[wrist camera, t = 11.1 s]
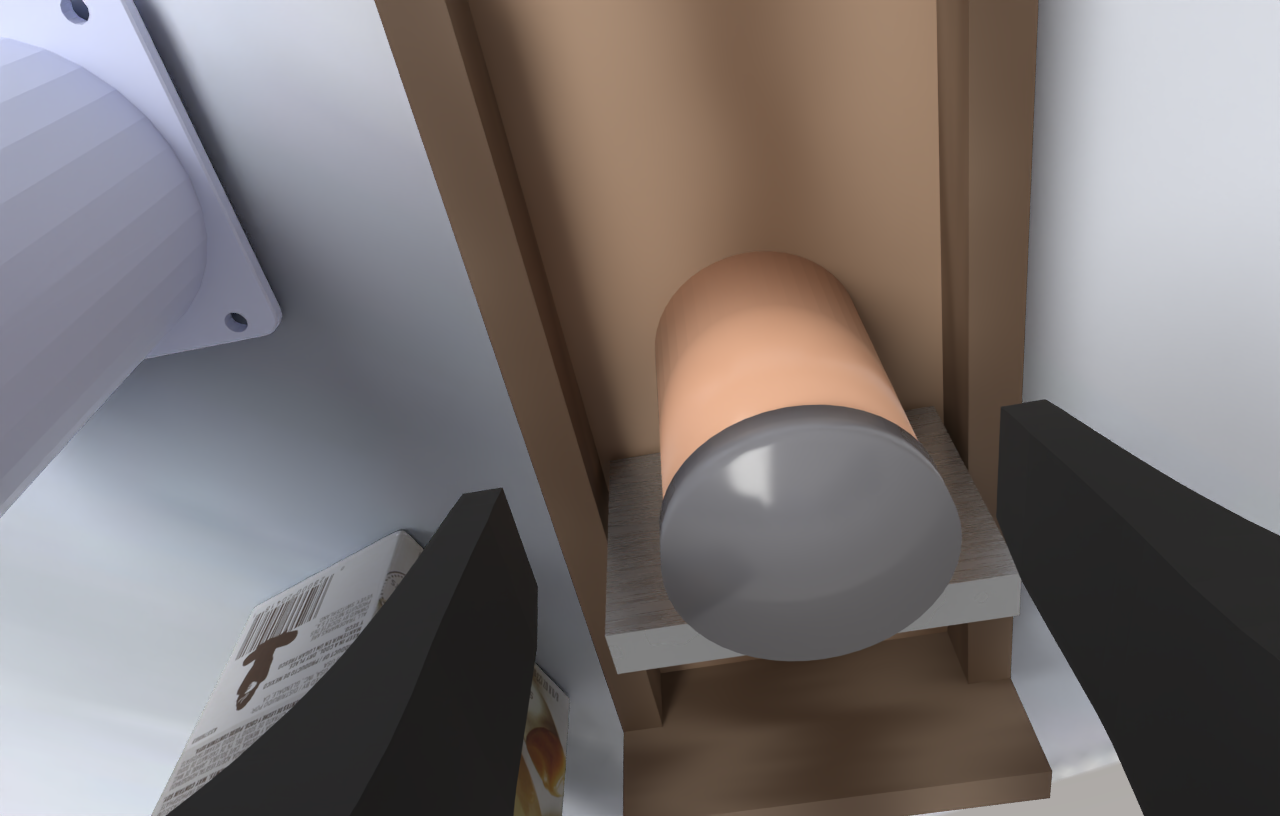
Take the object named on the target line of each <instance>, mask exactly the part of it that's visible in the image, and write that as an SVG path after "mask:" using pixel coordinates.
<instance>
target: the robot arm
mask: <svg viewBox="0 0 1280 816" xmlns="http://www.w3.org/2000/svg"><path fill="white" fill-rule="evenodd" d="M82 1H83V2H84V3H85V4H86V6H87V7H88V11H89V14H90V15H89V18H88V20H84V19H82V18H80V17H79V16H78V15H77V14H76V13H75V11H74V10H73V8H72V4H71V0H0V518H1V516H2V515H3V514H4V513H5V512H6V511H7V510H8V509H9V508H10V507H11V505H12V504H13V503H14V502H15V501H16V500H17V499H18V498H19V497H20V495H21V494H22V493H23V492H24V491H25V490H26V489H27V488H28V487H29V485H30V484H31V483H32V482H33V481H34V480H35V479H36V478H37V477H38V476H39V474H40V473H41V472H42V471H43V470H44V469H45V468H46V467H47V466H48V464H49V463H50V462H51V461H52V460H53V459H54V458H55V457H56V456H57V454H58V453H59V452H60V451H61V450H62V449H63V448H64V447H65V446H66V445H67V443H68V442H69V441H70V440H71V439H72V438H73V437H74V436H75V435H76V433H77V432H78V431H79V430H80V429H81V428H82V427H83V426H84V425H85V423H86V422H87V421H88V420H89V419H90V418H91V417H92V416H93V415H94V414H95V412H96V411H97V410H98V409H99V408H100V407H101V406H102V405H103V404H104V402H105V401H106V400H107V399H108V398H109V397H110V396H111V395H112V394H113V392H114V391H115V390H116V389H117V388H118V387H119V386H120V385H121V384H122V383H123V381H124V380H125V379H126V378H127V377H128V376H129V375H130V374H131V373H132V371H133V370H134V369H135V368H136V367H137V366H138V365H139V364H140V363H141V361H142V360H143V359H148V358H154V357H159V356H164V355H169V354H174V353H179V352H185V351H190V350H195V349H200V348H205V347H210V346H216V345H221V344H226V343H231V342H236V341H241V340H247V339H252V338H257V337H262V336H266V335H269V334H271V333H273V332H274V330H275V329H276V328H277V327H278V325H279V324H280V322H281V319H282V312H281V309H280V306H279V304H278V302H277V300H276V298H275V296H274V294H273V292H272V290H271V287H270V285H269V283H268V281H267V279H266V277H265V275H264V273H263V271H262V269H261V267H260V264H259V262H258V260H257V258H256V256H255V254H254V252H253V250H252V248H251V246H250V244H249V242H248V239H247V237H246V235H245V233H244V231H243V229H242V227H241V225H240V223H239V221H238V219H237V217H236V214H235V212H234V210H233V208H232V206H231V204H230V202H229V200H228V198H227V196H226V194H225V191H224V189H223V187H222V185H221V183H220V181H219V179H218V177H217V175H216V173H215V171H214V169H213V166H212V164H211V162H210V160H209V158H208V156H207V154H206V152H205V150H204V148H203V146H202V144H201V141H200V139H199V137H198V135H197V133H196V131H195V129H194V127H193V125H192V123H191V121H190V119H189V116H188V114H187V112H186V110H185V108H184V106H183V104H182V102H181V100H180V98H179V96H178V93H177V91H176V89H175V87H174V85H173V83H172V81H171V79H170V77H169V75H168V73H167V71H166V68H165V66H164V64H163V62H162V60H161V58H160V56H159V54H158V52H157V50H156V48H155V46H154V43H153V41H152V39H151V37H150V35H149V33H148V31H147V29H146V27H145V25H144V23H143V20H142V18H141V16H140V14H139V12H138V10H137V8H136V6H135V4H134V2H133V0H82ZM231 313H238V314H240V315H242V316H243V317H244V318H245V319H246V320H247V324H240V323H238V322H236V321H235V320H234V319H233V318H232V316H231ZM996 518H997V521H998V523H999V526H1000V528H1001V531H1002V534H1003V536H1004V539H1005V541H1006V544H1007V547H1008V549H1009V552H1010V554H1011V557H1012V559H1013V561H1014V564H1015V566H1016V569H1017V571H1018V573H1019V576H1020V578H1021V580H1022V582H1023V584H1024V586H1025V587H1026V589H1027V591H1028V593H1029V595H1030V596H1031V598H1032V600H1033V602H1034V604H1035V605H1036V607H1037V609H1038V611H1039V612H1040V614H1041V616H1042V618H1043V620H1044V621H1045V623H1046V625H1047V627H1048V628H1049V630H1050V632H1051V634H1052V635H1053V637H1054V639H1055V641H1056V642H1057V644H1058V646H1059V648H1060V649H1061V651H1062V653H1063V655H1064V656H1065V658H1066V660H1067V662H1068V663H1069V665H1070V667H1071V669H1072V670H1073V672H1074V674H1075V676H1076V677H1077V679H1078V681H1079V683H1080V684H1081V686H1082V688H1083V690H1084V691H1085V693H1086V695H1087V697H1088V699H1089V700H1090V702H1091V704H1092V706H1093V707H1094V709H1095V711H1096V713H1097V715H1098V716H1099V718H1100V720H1101V722H1102V724H1103V726H1104V728H1105V730H1106V732H1107V734H1108V736H1109V738H1110V740H1111V742H1112V744H1113V746H1114V748H1115V751H1116V753H1117V755H1118V758H1119V760H1120V762H1121V764H1122V767H1123V769H1124V771H1125V773H1126V775H1127V778H1128V780H1129V782H1130V785H1131V787H1132V789H1133V791H1134V794H1135V796H1136V798H1137V801H1138V803H1139V805H1140V807H1141V810H1142V812H1143V815H1144V816H1280V536H1279V535H1277V534H1275V533H1273V532H1271V531H1269V530H1267V529H1265V528H1263V527H1260V526H1258V525H1256V524H1254V523H1252V522H1250V521H1248V520H1246V519H1244V518H1243V517H1241V516H1239V515H1237V514H1235V513H1233V512H1231V511H1229V510H1228V509H1226V508H1224V507H1222V506H1220V505H1218V504H1216V503H1215V502H1213V501H1211V500H1209V499H1207V498H1205V497H1203V496H1201V495H1200V494H1198V493H1196V492H1194V491H1193V490H1191V489H1189V488H1187V487H1186V486H1184V485H1182V484H1180V483H1179V482H1177V481H1175V480H1173V479H1172V478H1170V477H1168V476H1167V475H1165V474H1163V473H1162V472H1160V471H1158V470H1157V469H1155V468H1153V467H1152V466H1150V465H1148V464H1147V463H1145V462H1143V461H1142V460H1140V459H1139V458H1137V457H1135V456H1134V455H1132V454H1131V453H1129V452H1127V451H1126V450H1124V449H1123V448H1121V447H1119V446H1118V445H1116V444H1115V443H1113V442H1112V441H1110V440H1108V439H1107V438H1105V437H1104V436H1102V435H1101V434H1099V433H1098V432H1096V431H1094V430H1093V429H1091V428H1090V427H1088V426H1087V425H1085V424H1084V423H1082V422H1081V421H1079V420H1077V419H1076V418H1074V417H1073V416H1071V415H1070V414H1068V413H1067V412H1065V411H1063V410H1062V409H1060V408H1059V407H1057V406H1055V405H1054V404H1052V403H1050V402H1049V401H1047V400H1039V401H1033V402H1027V403H1021V404H1015V405H1009V406H1002V407H1001V411H1000V435H999V459H998V484H997V508H996ZM537 599H538V586H537V583H536V581H535V578H534V575H533V572H532V569H531V567H530V564H529V561H528V558H527V555H526V552H525V550H524V547H523V544H522V541H521V538H520V536H519V533H518V530H517V527H516V524H515V521H514V519H513V516H512V513H511V510H510V507H509V505H508V502H507V499H506V496H505V493H504V490H503V488H497V489H491V490H484V491H478V492H472V493H466V494H463V495H462V496H461V497H460V499H459V500H458V501H457V503H456V504H455V506H454V507H453V508H452V510H451V511H450V512H449V514H448V515H447V517H446V518H445V520H444V521H443V522H442V524H441V525H440V527H439V528H438V530H437V531H436V533H435V534H434V535H433V537H432V538H431V540H430V541H429V543H428V544H427V546H426V547H425V548H424V550H423V551H422V553H421V554H420V556H419V557H418V558H417V560H416V561H415V563H414V564H413V565H412V567H411V568H410V569H409V571H408V572H407V574H406V575H405V576H404V578H403V579H402V580H401V582H400V583H399V585H398V586H397V587H396V589H395V590H394V591H393V593H392V594H391V595H390V597H389V598H388V599H387V601H386V602H385V603H384V605H383V606H382V607H381V608H380V610H379V611H378V612H377V613H376V615H375V616H374V617H373V618H372V619H371V621H370V622H369V623H368V624H367V626H366V627H365V628H364V629H363V631H362V632H361V633H360V634H359V636H358V637H357V638H356V639H355V641H354V642H353V643H352V644H351V645H350V647H349V648H348V649H347V650H346V651H345V652H344V653H343V655H342V656H341V657H340V658H339V659H338V660H337V661H336V662H335V664H334V665H333V666H332V667H331V668H330V669H329V670H328V671H327V672H326V673H325V674H324V675H323V676H322V677H321V679H320V680H319V681H318V682H317V683H316V684H315V685H314V686H313V687H312V688H311V689H310V690H309V691H308V692H307V693H306V694H305V695H304V696H303V697H302V698H301V699H300V700H299V701H298V702H297V703H296V704H295V705H294V706H293V707H292V708H291V709H290V710H289V711H288V712H287V713H286V714H285V715H284V716H282V717H281V718H280V719H279V720H278V721H277V722H276V723H275V724H274V725H273V726H272V727H270V728H269V729H268V730H267V731H266V732H265V733H264V734H263V735H262V736H261V737H260V738H258V739H257V740H256V741H255V742H254V743H253V744H252V745H251V746H250V747H249V748H248V749H246V750H245V751H244V752H243V753H242V754H241V755H240V756H239V757H238V758H236V759H235V760H234V761H233V762H232V763H231V764H229V765H228V766H227V767H226V768H225V769H223V770H222V771H221V772H220V773H219V774H217V775H216V776H215V777H214V778H212V779H211V780H210V781H209V782H208V783H206V784H205V785H204V786H203V787H202V788H200V789H199V790H198V791H196V792H195V793H194V794H193V795H191V796H190V797H189V798H187V799H186V800H185V801H184V802H182V803H181V804H180V805H178V806H177V807H176V808H175V809H173V810H172V811H171V812H169V813H168V814H167V815H165V816H513V815H514V806H515V796H516V787H517V780H518V773H519V767H520V760H521V753H522V747H523V740H524V733H525V726H526V720H527V713H528V706H529V700H530V693H531V686H532V679H533V672H534V665H535V657H536V649H537Z"/></svg>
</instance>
